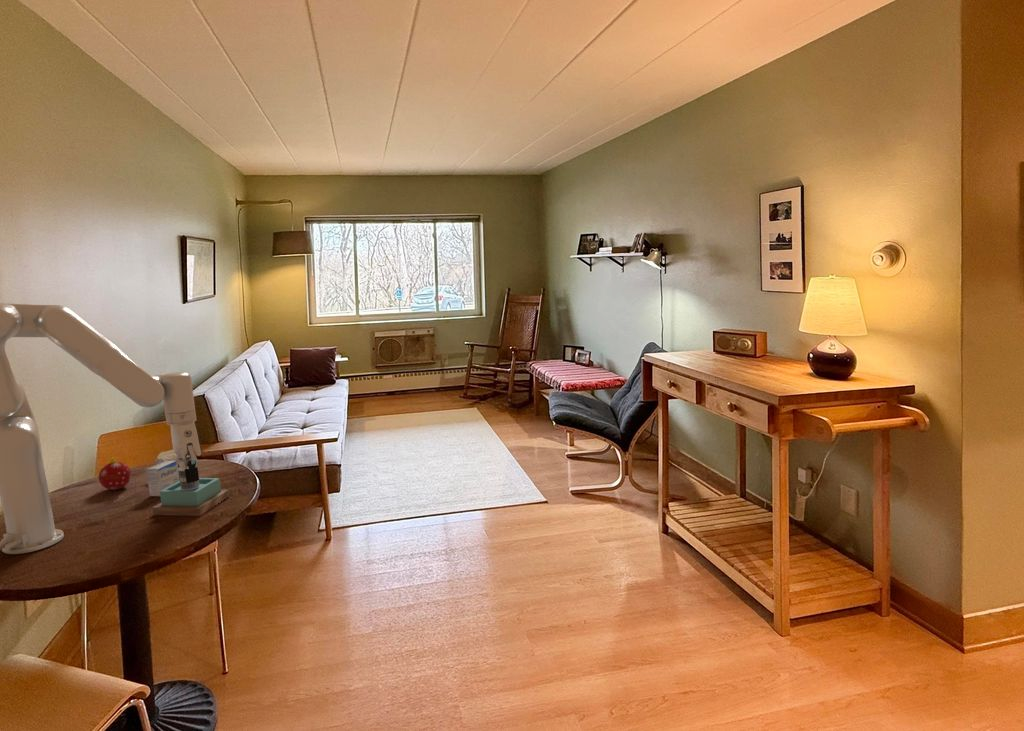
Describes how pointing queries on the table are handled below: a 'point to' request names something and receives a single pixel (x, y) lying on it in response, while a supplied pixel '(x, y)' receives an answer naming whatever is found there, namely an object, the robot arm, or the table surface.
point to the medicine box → (162, 476)
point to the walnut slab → (191, 510)
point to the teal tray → (190, 493)
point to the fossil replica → (167, 457)
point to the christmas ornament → (115, 475)
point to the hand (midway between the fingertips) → (189, 478)
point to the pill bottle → (183, 478)
